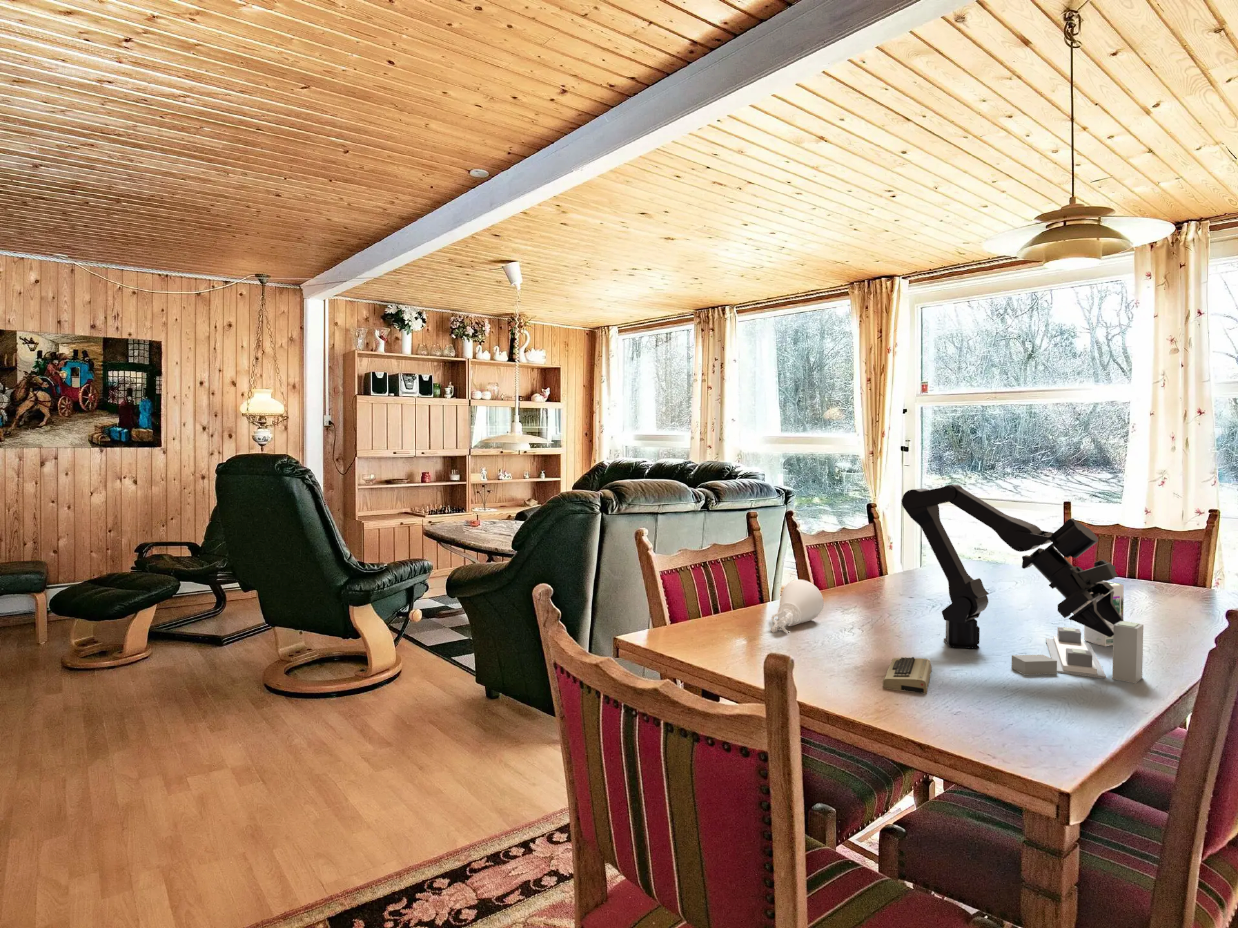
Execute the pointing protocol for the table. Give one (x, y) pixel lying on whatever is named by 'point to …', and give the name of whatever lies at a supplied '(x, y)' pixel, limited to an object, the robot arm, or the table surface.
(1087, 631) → the syrup box
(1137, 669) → the panel
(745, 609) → the table surface
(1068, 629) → the module far
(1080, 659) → the module near
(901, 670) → the computer
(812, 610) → the rocket engine
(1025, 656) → the block
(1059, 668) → the rail
